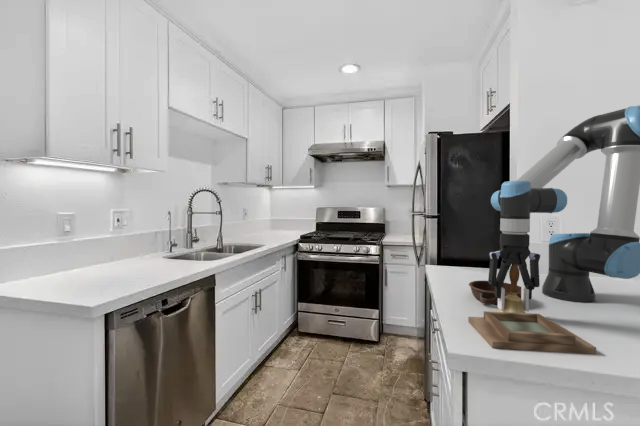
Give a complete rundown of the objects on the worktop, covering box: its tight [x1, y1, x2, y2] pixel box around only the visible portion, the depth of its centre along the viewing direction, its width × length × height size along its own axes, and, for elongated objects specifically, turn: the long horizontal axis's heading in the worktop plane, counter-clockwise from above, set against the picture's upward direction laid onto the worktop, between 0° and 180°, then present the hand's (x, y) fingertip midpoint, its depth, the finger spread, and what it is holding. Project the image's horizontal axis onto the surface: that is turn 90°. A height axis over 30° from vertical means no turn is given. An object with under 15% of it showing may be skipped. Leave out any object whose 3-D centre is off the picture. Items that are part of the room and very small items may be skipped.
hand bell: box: [496, 264, 526, 313], centre depth 93 cm, size 8×8×16 cm
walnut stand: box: [467, 310, 597, 355], centre depth 79 cm, size 22×16×4 cm
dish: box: [468, 280, 523, 306], centre depth 109 cm, size 18×22×5 cm
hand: (512, 309), depth 93 cm, fingers closed on hand bell, 6 cm apart
